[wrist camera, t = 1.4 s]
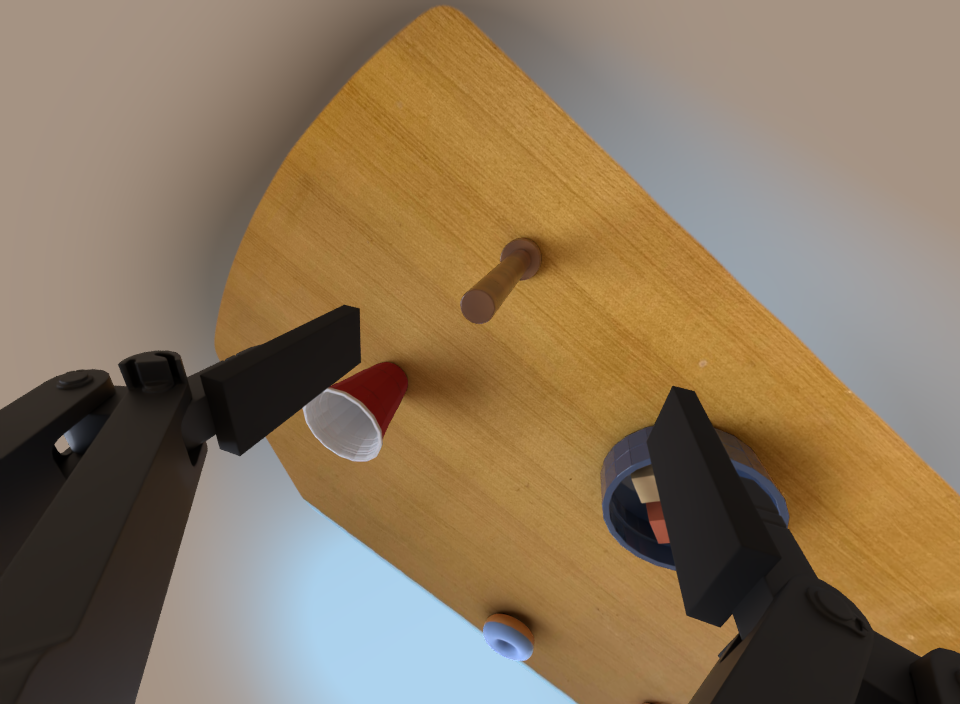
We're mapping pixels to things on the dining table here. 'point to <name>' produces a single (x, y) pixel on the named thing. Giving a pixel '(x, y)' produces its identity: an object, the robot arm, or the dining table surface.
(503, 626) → the doughnut
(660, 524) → the terracotta block
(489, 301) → the muddler
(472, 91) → the dining table surface
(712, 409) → the dining table surface
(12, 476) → the robot arm
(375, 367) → the plastic cup
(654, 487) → the birch block
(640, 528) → the bowl
